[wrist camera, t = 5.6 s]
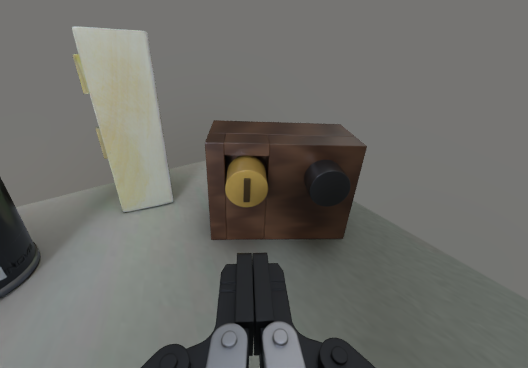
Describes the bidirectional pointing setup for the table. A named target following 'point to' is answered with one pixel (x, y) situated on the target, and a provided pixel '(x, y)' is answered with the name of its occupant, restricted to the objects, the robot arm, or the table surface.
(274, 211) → the control box
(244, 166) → the brass knob
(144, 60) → the toy refrigerator
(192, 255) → the table surface
